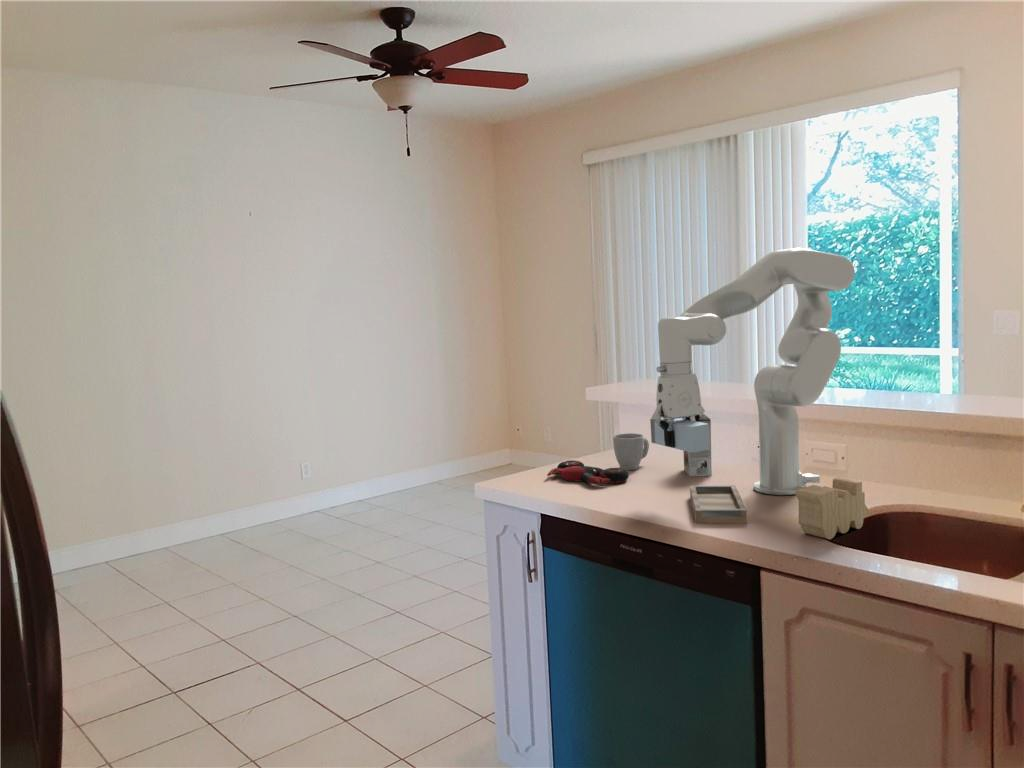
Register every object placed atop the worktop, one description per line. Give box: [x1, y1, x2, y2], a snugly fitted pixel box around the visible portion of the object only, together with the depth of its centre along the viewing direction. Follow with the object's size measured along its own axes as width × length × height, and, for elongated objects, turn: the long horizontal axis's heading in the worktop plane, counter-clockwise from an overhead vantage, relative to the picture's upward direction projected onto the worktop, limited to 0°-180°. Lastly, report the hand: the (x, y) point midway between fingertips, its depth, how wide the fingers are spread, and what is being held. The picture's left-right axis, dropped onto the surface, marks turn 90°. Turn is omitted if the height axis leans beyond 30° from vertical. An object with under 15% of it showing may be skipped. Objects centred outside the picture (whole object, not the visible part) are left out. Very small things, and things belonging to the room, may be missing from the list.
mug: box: [612, 432, 650, 471], centre depth 231 cm, size 12×9×10 cm
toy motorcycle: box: [546, 459, 630, 485], centre depth 220 cm, size 25×5×16 cm
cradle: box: [689, 484, 748, 525], centre depth 183 cm, size 22×11×3 cm, turn 170°
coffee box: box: [681, 413, 713, 477], centre depth 220 cm, size 9×6×16 cm
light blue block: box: [649, 417, 710, 453], centre depth 187 cm, size 16×5×6 cm, turn 25°
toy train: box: [794, 477, 870, 540], centre depth 163 cm, size 6×17×10 cm, turn 124°
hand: (679, 444), depth 187 cm, fingers closed on light blue block, 5 cm apart
